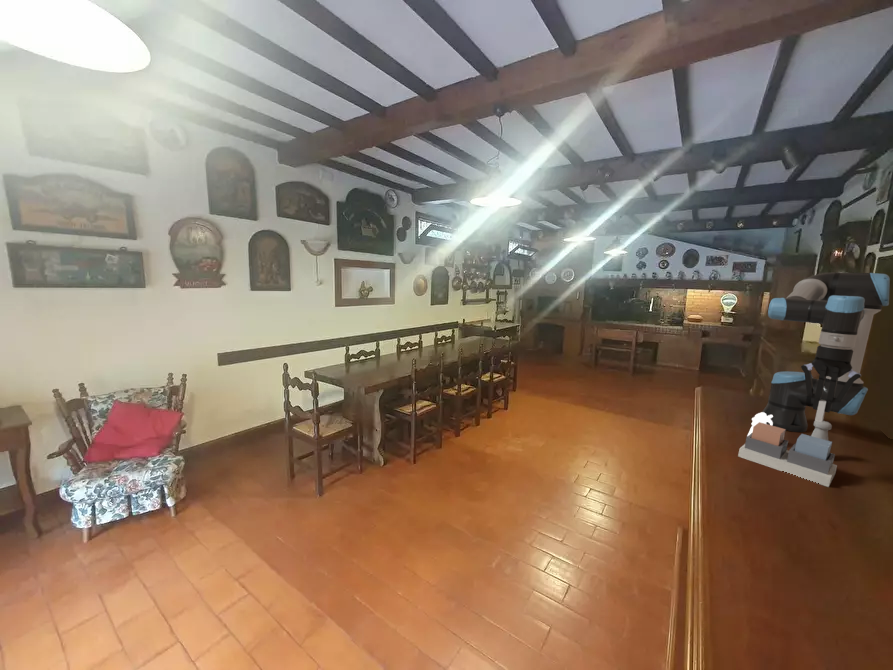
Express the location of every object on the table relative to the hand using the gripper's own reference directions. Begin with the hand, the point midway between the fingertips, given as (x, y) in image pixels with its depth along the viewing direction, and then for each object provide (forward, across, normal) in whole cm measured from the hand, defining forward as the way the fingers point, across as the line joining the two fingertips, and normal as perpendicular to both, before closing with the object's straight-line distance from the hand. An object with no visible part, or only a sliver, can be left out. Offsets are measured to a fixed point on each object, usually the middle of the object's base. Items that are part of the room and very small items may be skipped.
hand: (818, 420), depth 114 cm
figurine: (+18, -16, +14) cm, 28 cm away
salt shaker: (+18, 0, +18) cm, 26 cm away
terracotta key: (+12, -11, 0) cm, 16 cm away
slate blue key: (+12, 0, 0) cm, 12 cm away
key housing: (+18, -6, 0) cm, 19 cm away
